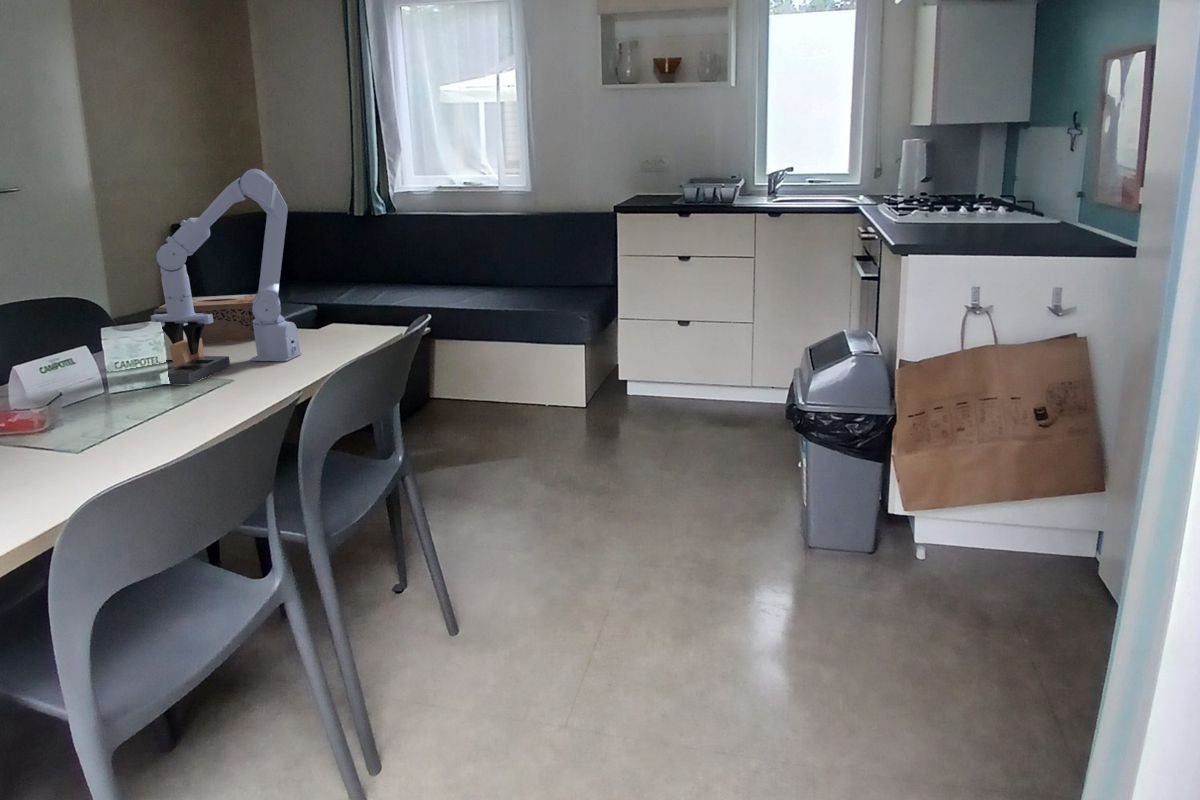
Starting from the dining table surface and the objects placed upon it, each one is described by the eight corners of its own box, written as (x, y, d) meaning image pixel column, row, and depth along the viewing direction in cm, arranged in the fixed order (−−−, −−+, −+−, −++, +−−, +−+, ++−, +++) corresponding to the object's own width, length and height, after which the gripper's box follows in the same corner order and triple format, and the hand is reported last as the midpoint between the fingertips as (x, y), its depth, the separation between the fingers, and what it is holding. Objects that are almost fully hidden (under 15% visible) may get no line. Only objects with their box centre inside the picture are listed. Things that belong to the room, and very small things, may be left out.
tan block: (193, 360, 219) (190, 337, 217) (205, 360, 218) (201, 337, 217) (173, 368, 211) (169, 345, 210) (185, 368, 211) (181, 345, 209)
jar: (202, 356, 224) (195, 308, 220) (167, 362, 219) (159, 313, 215) (191, 351, 230) (184, 304, 227) (157, 356, 226) (149, 308, 222)
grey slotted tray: (203, 366, 214) (201, 356, 213) (230, 366, 213) (228, 356, 212) (160, 384, 199) (158, 373, 198) (189, 385, 198) (188, 373, 197)
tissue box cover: (277, 328, 256) (272, 293, 253) (265, 339, 243) (260, 302, 240) (181, 333, 253) (175, 298, 251) (164, 345, 240) (158, 307, 237)
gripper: (138, 299, 208) (149, 357, 211) (196, 299, 205) (206, 358, 209) (157, 294, 214) (167, 350, 218) (214, 293, 212) (223, 350, 216)
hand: (187, 353), depth 214 cm, fingers closed on tan block, 3 cm apart
